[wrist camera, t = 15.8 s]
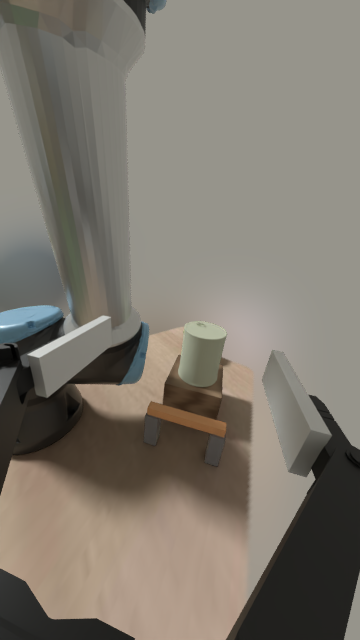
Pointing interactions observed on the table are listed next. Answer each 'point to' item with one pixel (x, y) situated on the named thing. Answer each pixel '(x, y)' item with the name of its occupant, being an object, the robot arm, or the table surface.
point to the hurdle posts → (212, 448)
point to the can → (201, 353)
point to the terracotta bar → (187, 419)
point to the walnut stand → (193, 394)
